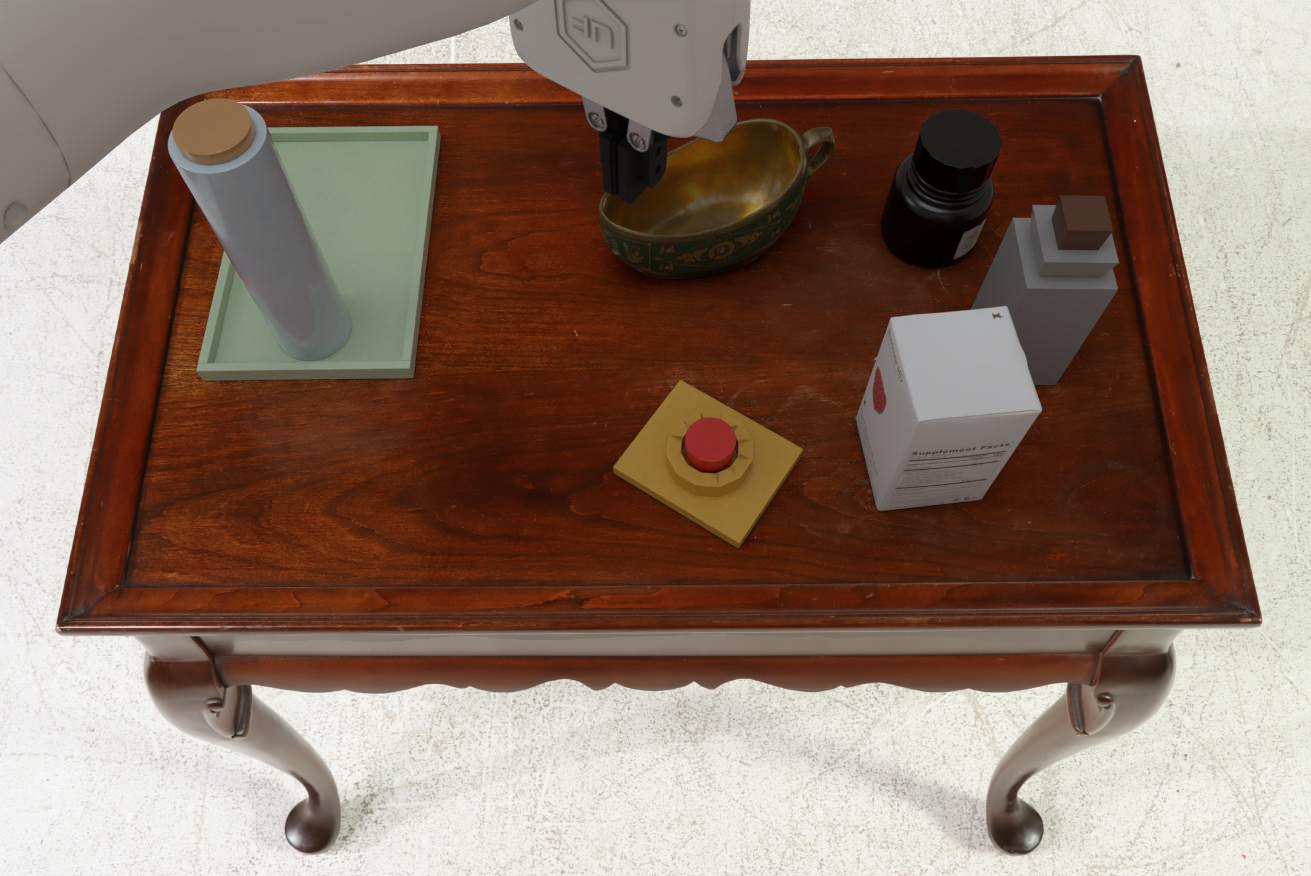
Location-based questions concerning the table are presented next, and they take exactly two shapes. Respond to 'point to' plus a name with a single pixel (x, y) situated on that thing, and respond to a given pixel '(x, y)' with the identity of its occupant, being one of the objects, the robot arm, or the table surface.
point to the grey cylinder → (261, 225)
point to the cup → (716, 201)
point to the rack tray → (343, 254)
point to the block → (703, 496)
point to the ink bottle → (942, 189)
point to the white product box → (944, 407)
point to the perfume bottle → (1054, 280)
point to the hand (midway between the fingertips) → (633, 180)
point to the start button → (710, 444)
